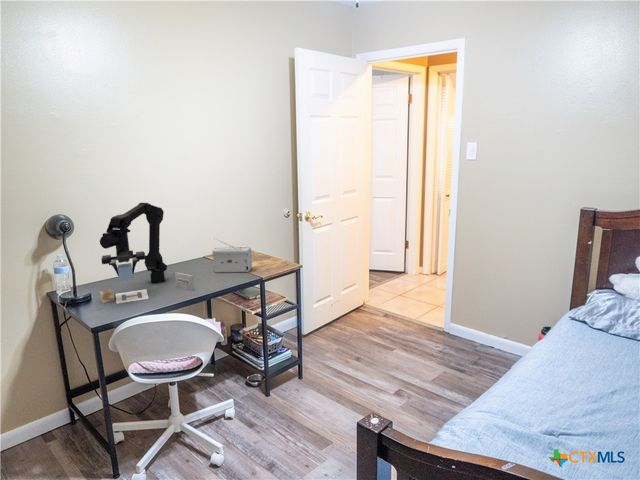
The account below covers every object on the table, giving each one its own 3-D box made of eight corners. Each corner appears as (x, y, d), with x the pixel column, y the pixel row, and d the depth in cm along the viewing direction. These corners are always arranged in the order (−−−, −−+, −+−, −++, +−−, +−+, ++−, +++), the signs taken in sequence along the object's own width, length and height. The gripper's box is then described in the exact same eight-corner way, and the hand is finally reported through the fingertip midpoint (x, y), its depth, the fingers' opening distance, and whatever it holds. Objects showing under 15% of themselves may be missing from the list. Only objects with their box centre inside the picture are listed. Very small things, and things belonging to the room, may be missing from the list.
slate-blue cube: (132, 274, 216) (131, 262, 214) (133, 278, 210) (131, 266, 209) (119, 276, 213) (117, 264, 212) (119, 280, 208) (117, 268, 207)
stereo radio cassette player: (252, 268, 256) (250, 234, 251) (250, 273, 248) (248, 238, 243) (216, 269, 256) (213, 235, 251) (212, 273, 248) (210, 238, 243)
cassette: (195, 289, 223) (193, 275, 221) (192, 291, 221) (191, 276, 219) (178, 285, 229) (176, 271, 227) (175, 287, 227) (174, 272, 225)
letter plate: (146, 290, 223) (146, 289, 223) (148, 299, 210) (148, 298, 210) (115, 294, 217) (115, 293, 217) (116, 304, 205) (116, 303, 204)
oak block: (112, 298, 212) (111, 289, 211) (114, 302, 208) (113, 292, 207) (100, 301, 209) (99, 291, 208) (102, 304, 205) (101, 294, 204)
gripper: (99, 249, 197) (103, 282, 201) (144, 244, 204) (147, 277, 208) (100, 243, 207) (104, 275, 211) (142, 239, 214) (146, 270, 218)
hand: (125, 274), depth 212 cm, fingers closed on slate-blue cube, 6 cm apart
